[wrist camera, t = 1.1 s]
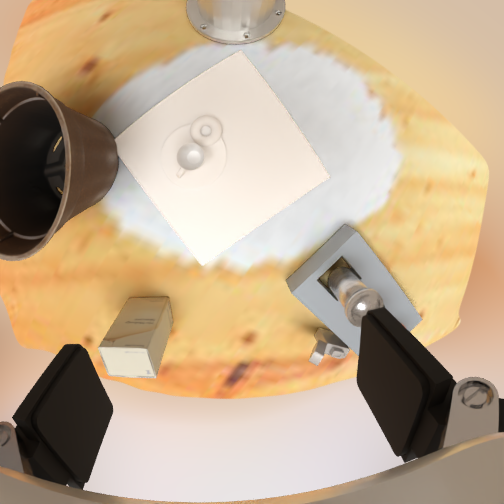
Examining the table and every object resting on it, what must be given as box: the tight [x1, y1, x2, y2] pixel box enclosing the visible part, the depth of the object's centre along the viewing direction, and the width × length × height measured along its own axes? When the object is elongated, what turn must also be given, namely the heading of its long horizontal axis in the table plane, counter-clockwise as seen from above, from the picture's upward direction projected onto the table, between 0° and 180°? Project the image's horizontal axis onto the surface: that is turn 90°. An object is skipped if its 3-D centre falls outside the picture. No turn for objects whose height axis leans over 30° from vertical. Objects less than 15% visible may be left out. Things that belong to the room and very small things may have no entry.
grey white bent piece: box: [309, 328, 350, 366], centre depth 39 cm, size 7×2×8 cm, turn 67°
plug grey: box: [328, 267, 383, 327], centre depth 32 cm, size 4×4×8 cm
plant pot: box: [0, 81, 118, 261], centre depth 25 cm, size 16×16×16 cm
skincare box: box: [98, 297, 173, 378], centre depth 34 cm, size 6×4×12 cm
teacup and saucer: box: [160, 114, 228, 190], centre depth 32 cm, size 9×8×4 cm
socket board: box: [286, 224, 422, 356], centre depth 40 cm, size 11×20×4 cm, turn 45°
